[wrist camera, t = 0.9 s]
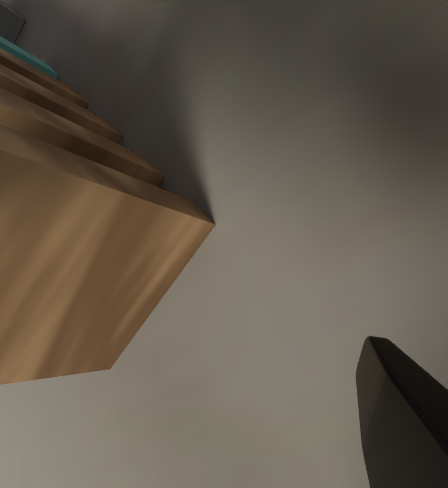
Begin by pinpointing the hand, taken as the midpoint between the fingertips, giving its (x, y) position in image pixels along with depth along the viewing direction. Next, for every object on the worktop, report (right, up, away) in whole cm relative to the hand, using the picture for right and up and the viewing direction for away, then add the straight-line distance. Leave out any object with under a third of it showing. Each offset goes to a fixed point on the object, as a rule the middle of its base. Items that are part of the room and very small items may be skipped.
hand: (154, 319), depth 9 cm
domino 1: (-3, -1, +15) cm, 16 cm away
